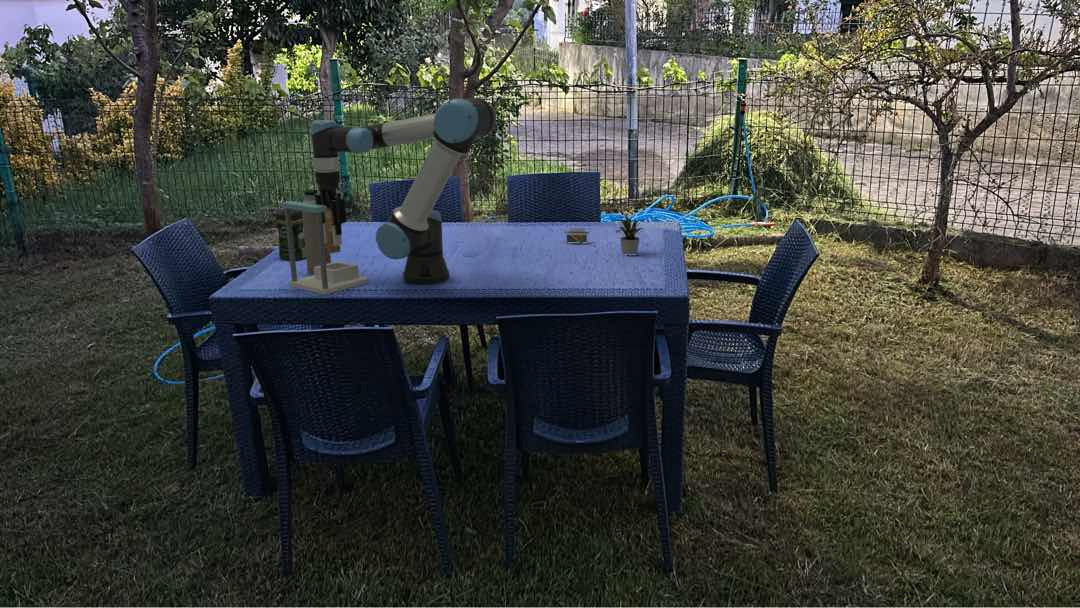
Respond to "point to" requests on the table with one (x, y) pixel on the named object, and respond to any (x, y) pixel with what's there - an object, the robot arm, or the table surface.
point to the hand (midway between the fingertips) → (333, 243)
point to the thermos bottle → (312, 236)
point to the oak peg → (330, 232)
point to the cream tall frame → (325, 275)
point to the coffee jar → (297, 234)
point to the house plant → (629, 235)
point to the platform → (576, 235)
